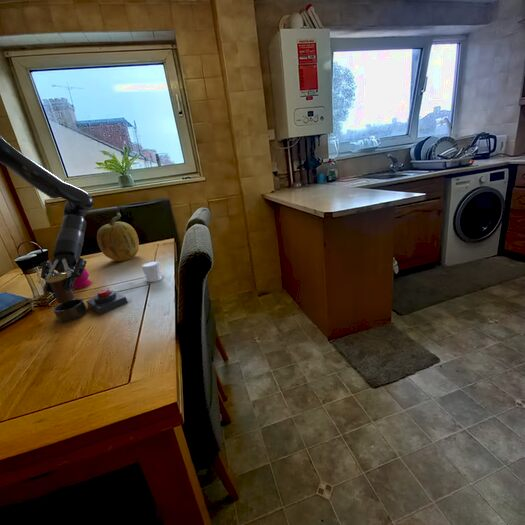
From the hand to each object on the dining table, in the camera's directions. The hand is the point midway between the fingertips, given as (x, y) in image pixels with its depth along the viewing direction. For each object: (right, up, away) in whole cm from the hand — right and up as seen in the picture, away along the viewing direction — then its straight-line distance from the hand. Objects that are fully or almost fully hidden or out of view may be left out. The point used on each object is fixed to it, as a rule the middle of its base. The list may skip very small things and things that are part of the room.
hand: (57, 290), depth 88 cm
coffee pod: (+1, -3, +3) cm, 5 cm away
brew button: (+10, -3, +8) cm, 13 cm away
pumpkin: (-9, +11, +61) cm, 63 cm away
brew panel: (+11, -6, +10) cm, 15 cm away
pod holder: (+1, -9, +5) cm, 10 cm away
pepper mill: (-12, -1, +31) cm, 33 cm away
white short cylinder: (+20, +2, +27) cm, 34 cm away
